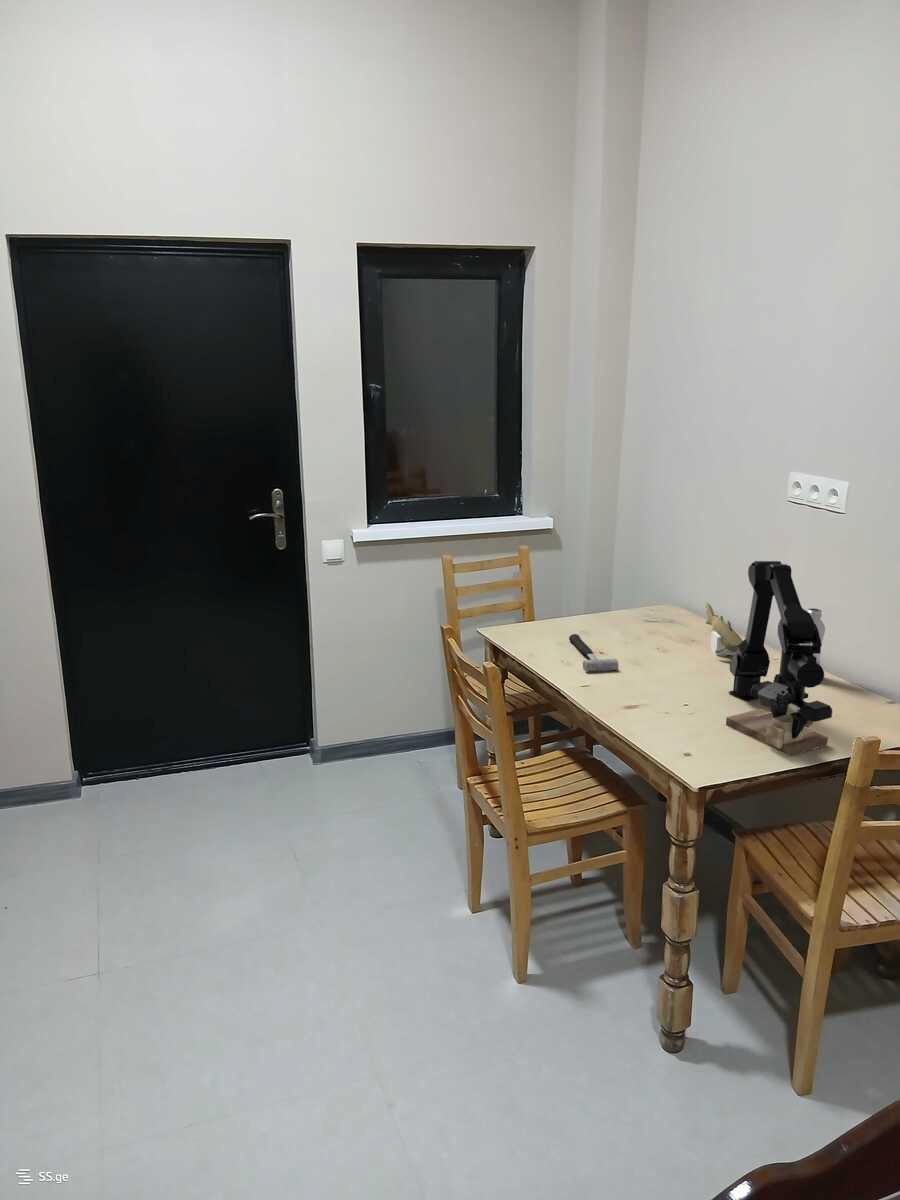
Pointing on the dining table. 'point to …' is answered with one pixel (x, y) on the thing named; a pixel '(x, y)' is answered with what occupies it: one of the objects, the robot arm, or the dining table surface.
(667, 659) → the dining table surface
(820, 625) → the plastic bottle
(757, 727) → the walnut board
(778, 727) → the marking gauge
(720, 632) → the wood carving
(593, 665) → the rubber mallet
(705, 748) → the dining table surface
